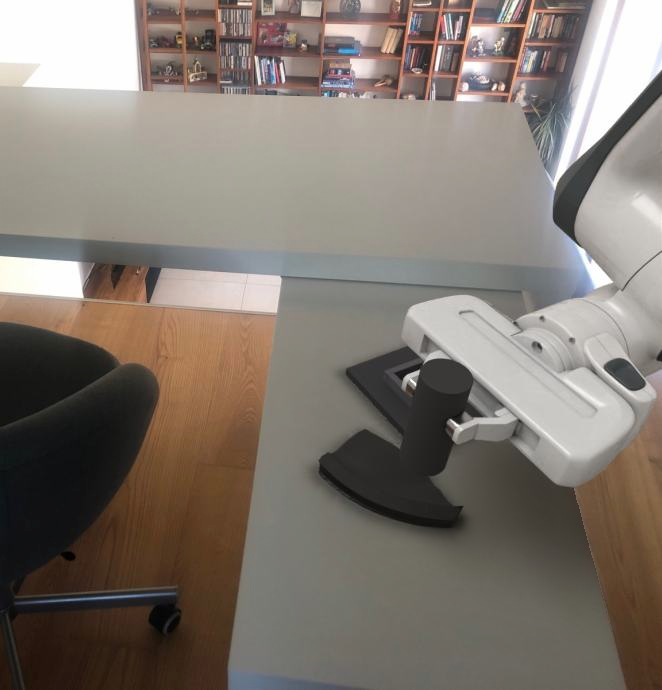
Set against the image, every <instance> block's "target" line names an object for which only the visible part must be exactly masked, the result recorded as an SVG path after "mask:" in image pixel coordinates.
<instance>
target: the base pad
mask: <svg viewBox="0 0 662 690" xmlns="http://www.w3.org/2000/svg"><path fill="white" fill-rule="evenodd" d="M424 362H425V361H423V360H422V359H421V358H420V357H419V356H418V355H417V354H416V353H415V352H414V351H413V350H412V349H411V348H410V347H408V346H407V345H406V346H404V347H401V348H398V349H395V350H393V351H390V352H387V353H384V354H381V355H379V356H376V357H373V358H371V359H368V360H365V361H363V362H359V363H356V364H354V365H352V366H348V367H346V369H345V375H346V376H347V378H349V380H350V381H351V382H352V384H354V385H355V386H356V387H357V388H358V389H359V390H360V392H362V394H363V395H364V396H365V397H366V398H367V399H368V400H369V401H370V402H371V403H372V404H373V405H374V406H375V408H376V409H377V410H378V411H379V413H381V414H382V415H383V416H384V418H386V420H387V421H388V422H389V423H390V424H391V425H392V426H393V427H394V428H395V429H396V430H397V431H398V433H400V435H401V436H402V437H403V435H404V431H405V427H406V423H407V419H408V415H409V411H410V407H411V403H412V400H413V399H412V398H411V397H410V396H409V395H408V394H406V393H405V392H404V391H403V390H402V388H401V387H402V383H403V379H404V377H405V376H406V375H408V374H410V373H413V372H415V371H418V370H420V368H421V366H422V365H423V363H424ZM465 411H466V412H467V413H468V414H469V415H470V416H471V417H472V418H484V417H483V416H482V415H481V414H480V413H479V412H478V411H477V410H476V409H475V408H474V407H473V406H471V405H470V404H469V403H468V402H467V404H466V407H465V410H464V412H465Z"/></svg>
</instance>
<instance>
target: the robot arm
mask: <svg viewBox="0 0 662 690" xmlns="http://www.w3.org/2000/svg"><path fill="white" fill-rule="evenodd" d="M552 200H553V201H552V221H553V223H554V224H555V226H556V227H558V228H559V230H561V231H562V232H563V233H564V234H565V235H566V236H567V237H568V238H569V239H570V240H571V241H573V242H574V243H575V244H576V245H577V246H578V247H580V248H581V249H583V250H584V251H585V252H586V254H588V256H589V257H590V258H591V259H592V260H593V262H594V263H595V264H596V265H597V266H598V267H599V268H600V270H602V271H603V272H604V274H605V275H606V276H607V277H608V278H609V279H610V281H612V282H610V283H607V284H604V285H601V286H598V287H597V288H594V289H593V290H591V291H589V292H588V293H586V294H585V295H584V296H583V297H573V298H568V299H563V300H561V301H559V302H556V303H554V304H551V305H548V306H546V307H545V306H544V307H543V308H540V309H537V310H535V311H533V312H529V313H526V314H525V315H524V314H523V315H522V316H519V317H518V318H517V319H515V320H513V319H512V318H510V316H508V315H507V314H505V313H503V312H501V311H500V310H498V309H497V308H496V307H495V306H494V305H493V304H492V303H491V302H490V301H488V300H486V299H480V298H479V297H477V296H474V295H470V294H456V295H449V296H444V297H439V298H434V299H430V300H427V301H423V302H420V303H416V304H413V305H412V306H411V305H410V307H409V308H408V310H407V311H406V314H405V317H404V320H403V323H402V324H403V325H402V330H401V341H402V342H403V343H404V345H406V346H408V347H410V348H411V349H412V350H413V351H414V352H415V353H416V354H417V355H418V356H419V357H420V358H421V359H422V360H423V361H425V362H427V361H429V360H432V359H436V358H445V359H451V360H454V361H457V362H459V363H461V364H462V365H464V366H465V367H467V368H468V369H469V371H470V372H471V374H472V376H473V386H472V389H471V392H470V395H469V398H468V401H467V402H468V403H469V404H470V405H471V406H473V407H474V408H475V409H476V410H477V411H478V412H479V413H480V414H481V415H482V416H483V417H484V418H472V417H471V416H470V415H469V414H468V413H467V412H466V411H465V412H462V413H460V414H459V415H458V416H454V417H451V418H449V419H448V421H447V422H446V428H444V432H445V433H446V434H447V435H448V436H449V437H450V438H451V439H452V440H453V441H454V443H455V445H457V446H459V445H462V444H464V443H466V442H468V441H470V440H476V441H485V442H496V443H501V442H502V441H505V440H508V441H509V442H510V443H511V445H513V446H514V447H515V448H516V449H517V450H518V451H519V452H520V453H522V454H523V456H525V457H526V458H527V459H528V460H529V461H530V462H531V463H532V464H533V465H534V466H535V467H536V468H537V469H538V470H539V471H541V472H542V473H543V474H544V475H545V476H546V477H547V478H548V479H549V480H550V481H551V482H552V483H554V484H555V485H556V486H560V487H566V488H577V487H580V486H582V485H583V484H586V483H588V482H589V481H592V479H594V478H596V477H597V476H598V475H600V474H601V473H603V472H604V471H605V470H606V469H608V468H609V467H610V466H611V465H612V464H613V462H614V460H615V459H616V458H617V455H618V454H619V453H622V452H624V451H625V450H628V448H629V447H630V446H631V445H632V444H633V442H635V440H636V439H637V437H638V436H639V434H641V431H642V430H643V428H644V427H645V425H646V424H647V422H648V420H649V418H650V416H651V413H652V411H653V409H654V407H655V404H656V402H657V398H658V392H657V391H656V389H655V388H654V387H653V385H652V384H651V383H650V382H649V380H648V379H646V377H648V376H651V375H654V374H655V373H658V372H659V371H661V370H662V69H660V71H658V73H657V74H656V75H655V76H654V77H653V79H652V80H651V81H650V82H649V83H648V84H647V85H646V87H645V88H644V89H643V90H642V91H641V92H640V94H639V95H638V96H637V97H636V98H635V100H633V102H632V103H631V104H630V105H629V106H628V107H627V108H626V109H625V111H624V112H623V113H622V114H621V116H620V117H618V119H617V120H616V121H615V122H614V123H613V124H612V126H611V127H610V128H608V130H607V131H606V132H605V133H604V134H603V135H602V136H601V137H600V138H599V139H598V140H597V141H596V142H595V143H594V144H593V145H592V146H591V147H589V148H588V149H587V150H586V151H585V152H584V153H583V154H582V155H580V156H579V158H577V159H576V160H575V161H574V162H573V163H572V164H571V165H570V166H569V167H568V168H567V169H565V171H564V172H563V173H562V175H561V176H560V177H559V179H558V180H557V182H556V186H555V189H554V194H553V199H552ZM425 362H424V363H425ZM424 363H423V364H424ZM419 372H420V370H418V371H415V372H413V373H410V374H408V375H406V376H405V377H404V379H403V383H402V387H401V388H402V390H403V391H404V392H405V393H406V394H408V395H409V396H410V397H411V398H412V399H413V396H414V392H415V388H416V384H417V380H418V376H419Z"/></svg>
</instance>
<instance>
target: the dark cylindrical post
mask: <svg viewBox="0 0 662 690" xmlns="http://www.w3.org/2000/svg"><path fill="white" fill-rule="evenodd" d="M472 386H473V376H472V374H471V372H470V371H469V369H468V368H467V367H465V366H464V365H462V364H461V363H459V362H457V361H454V360H451V359H445V358H436V359H432V360H429V361H427V362H425V363H424V364H423V365H422V366H421V368H420V372H419V376H418V380H417V384H416V388H415V392H414V396H413V400H412V403H411V407H410V411H409V415H408V419H407V423H406V427H405V431H404V435H403V436H402V439H401V443H400V446H399V449H400V451H399V458H400V461H401V463H402V465H403V466H404V467H405V468H406V469H407V470H409V471H410V472H412V473H414V474H416V475H419V476H425V477H429V478H430V477H434V476H438V475H440V474H441V473H442V472H443V471H445V469H446V467H447V464H448V461H449V459H450V455H451V452H452V449H453V446H454V443H455V442H454V441H453V440H452V439H451V438H450V437H449V436H448V435H447V434H446V433H445V432H444V428H446V422H447V421H448V419H449V418H451V417H454V416H458V415H459V414H460V413H462V412H464V410H465V407H466V404H467V401H468V398H469V395H470V392H471V389H472Z"/></svg>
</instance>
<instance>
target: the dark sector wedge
mask: <svg viewBox="0 0 662 690" xmlns="http://www.w3.org/2000/svg"><path fill="white" fill-rule="evenodd" d="M399 451H400V447H397V446H396V445H395V444H393V443H392V442H390V441H388V440H387V439H385V438H382V436H379V435H377V434H375V433H373V432H372V431H370V430H369V429H367V428H364V429H362V430H359V431H358V432H356V433H355V434H353V435H352V436H351V437H349V438H348V439H347V440H346V441H344V443H342V445H340V447H338V448H337V449H336V450H335V451H333V452H329V451H328V452H327V453H324V454H323V455H321V457H319V459H318V463H319V468H318V474H319V475H320V476H321V478H322V479H324V480H325V481H326V482H327V483H328V484H329V485H331V486H332V487H333V488H334V489H335V490H336V491H338V492H339V493H341V494H342V495H343V496H345V497H346V498H347V499H349V500H351V501H352V502H355V503H356V504H358V505H360V506H361V507H363V508H365V509H367V510H369V511H372V512H374V513H376V514H379V515H383V516H385V517H387V518H388V517H389V518H391V519H393V520H396V521H401V522H406V523H410V524H415V525H422V526H430V527H446V528H448V527H449V528H450V527H453V526H455V525H456V524H457V523H458V520H459V516H460V515H461V512H462V510H463V508H464V505H453V504H452V503H451V502H450V501H449V500H448V499H447V497H446V496H445V495H444V494H443V493H442V491H441V489H439V487H437V486H436V485H435V484H434V482H433V481H432V479H431V478H430V477H425V476H419V475H416V474H414V473H412V472H410V471H409V470H407V469H406V468H405V467H404V466H403V465H402V463H401V461H400V458H399Z"/></svg>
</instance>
